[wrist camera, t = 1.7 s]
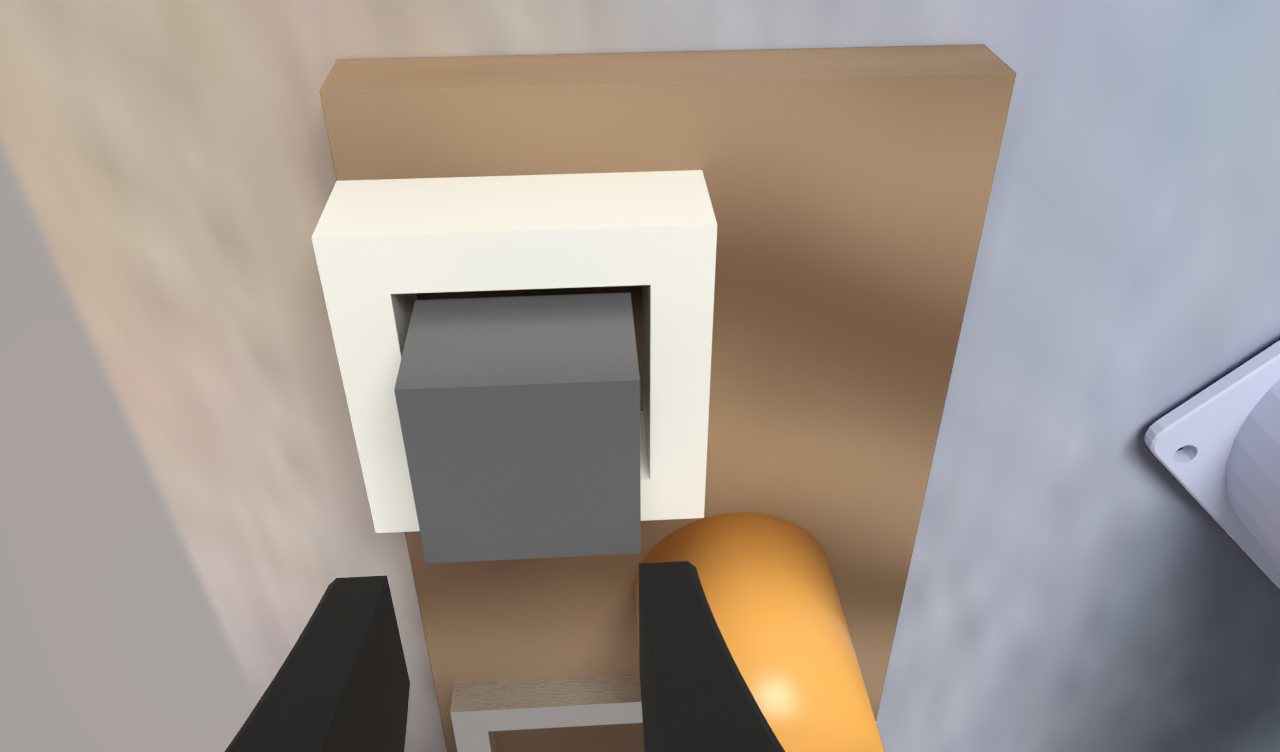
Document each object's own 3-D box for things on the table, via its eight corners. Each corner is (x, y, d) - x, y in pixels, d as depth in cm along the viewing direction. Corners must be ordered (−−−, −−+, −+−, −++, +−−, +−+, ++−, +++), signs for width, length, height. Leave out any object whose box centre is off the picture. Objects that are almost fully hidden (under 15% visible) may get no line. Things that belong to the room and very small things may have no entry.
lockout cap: (868, 577, 23) (935, 777, 18) (725, 673, 24) (758, 875, 20) (739, 479, 21) (782, 679, 17) (593, 591, 22) (600, 797, 18)
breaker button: (632, 456, 18) (640, 553, 16) (440, 465, 18) (425, 563, 16) (630, 292, 16) (640, 380, 14) (415, 299, 16) (394, 389, 14)
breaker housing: (692, 449, 20) (703, 517, 18) (391, 461, 20) (376, 533, 18) (701, 169, 17) (717, 224, 15) (336, 180, 16) (311, 237, 15)
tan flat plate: (836, 802, 30) (848, 849, 29) (474, 824, 30) (471, 873, 29) (983, 44, 17) (1016, 72, 16) (337, 59, 17) (319, 90, 15)
